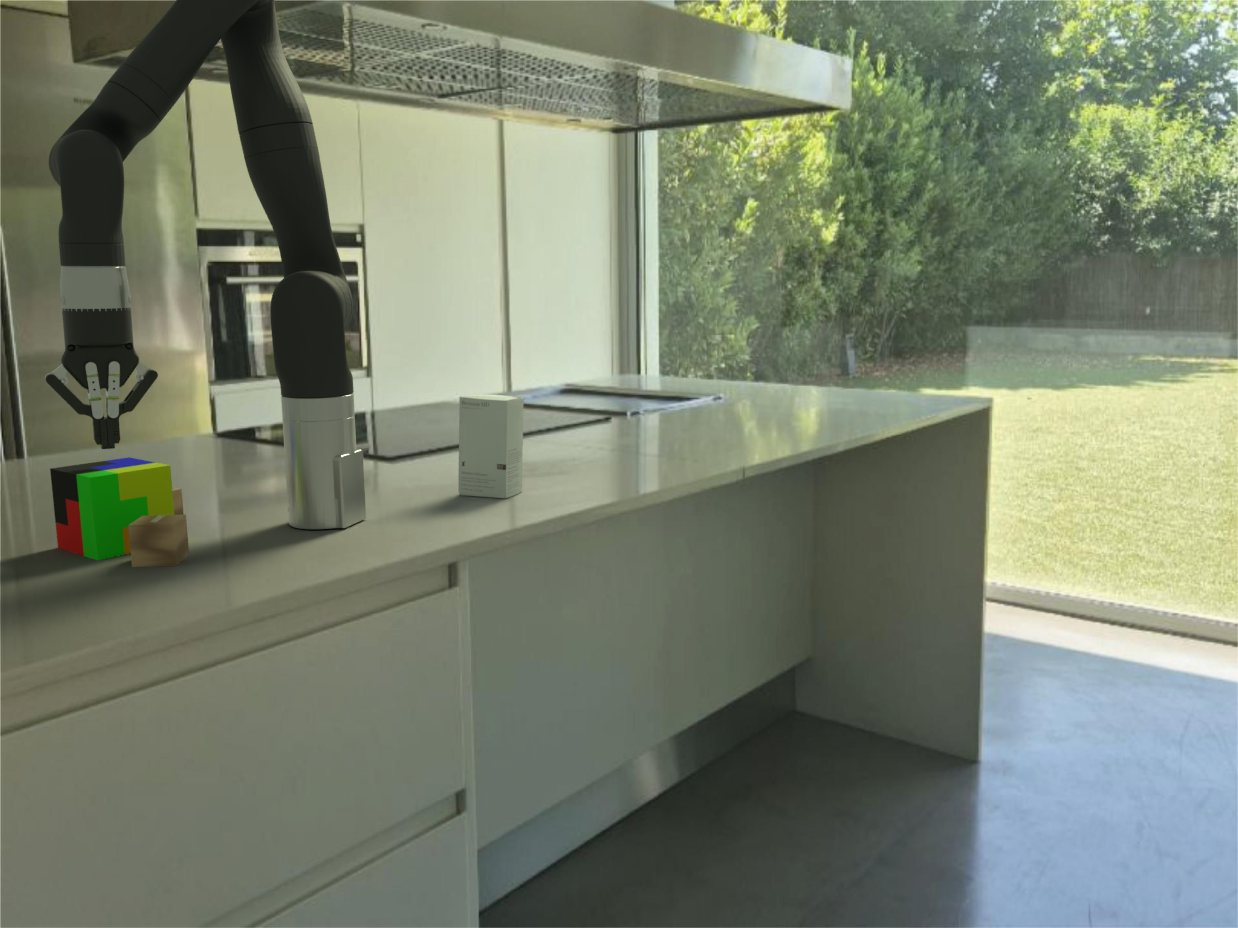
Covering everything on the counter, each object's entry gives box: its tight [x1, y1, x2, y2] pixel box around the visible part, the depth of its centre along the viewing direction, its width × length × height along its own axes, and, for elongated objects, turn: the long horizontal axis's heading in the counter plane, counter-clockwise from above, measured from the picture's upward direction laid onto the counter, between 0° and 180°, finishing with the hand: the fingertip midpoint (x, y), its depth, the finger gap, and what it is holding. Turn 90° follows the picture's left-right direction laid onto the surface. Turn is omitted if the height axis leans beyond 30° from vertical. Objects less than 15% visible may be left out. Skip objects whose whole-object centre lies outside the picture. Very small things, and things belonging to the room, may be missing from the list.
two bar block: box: [172, 487, 185, 515], centre depth 149 cm, size 5×5×5 cm
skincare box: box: [458, 393, 525, 499], centre depth 167 cm, size 8×6×15 cm
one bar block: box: [128, 514, 190, 568], centre depth 132 cm, size 5×5×5 cm
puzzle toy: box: [49, 456, 174, 561], centre depth 139 cm, size 10×10×10 cm
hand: (107, 447), depth 137 cm, fingers closed
